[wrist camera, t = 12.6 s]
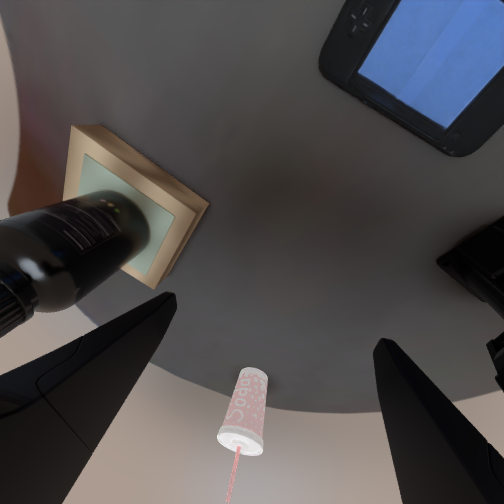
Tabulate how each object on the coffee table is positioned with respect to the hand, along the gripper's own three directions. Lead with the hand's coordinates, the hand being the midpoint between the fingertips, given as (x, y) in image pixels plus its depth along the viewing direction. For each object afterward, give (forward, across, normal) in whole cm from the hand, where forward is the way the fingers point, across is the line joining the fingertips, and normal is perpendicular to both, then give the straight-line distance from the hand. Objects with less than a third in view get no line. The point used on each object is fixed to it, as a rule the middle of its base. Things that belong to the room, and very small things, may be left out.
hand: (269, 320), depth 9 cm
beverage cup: (+13, +1, +28) cm, 31 cm away
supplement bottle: (+10, +16, +2) cm, 19 cm away
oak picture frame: (+13, +16, +2) cm, 21 cm away
